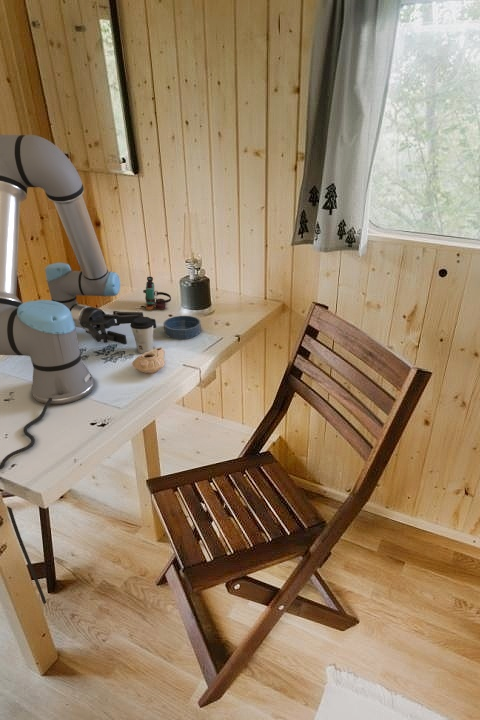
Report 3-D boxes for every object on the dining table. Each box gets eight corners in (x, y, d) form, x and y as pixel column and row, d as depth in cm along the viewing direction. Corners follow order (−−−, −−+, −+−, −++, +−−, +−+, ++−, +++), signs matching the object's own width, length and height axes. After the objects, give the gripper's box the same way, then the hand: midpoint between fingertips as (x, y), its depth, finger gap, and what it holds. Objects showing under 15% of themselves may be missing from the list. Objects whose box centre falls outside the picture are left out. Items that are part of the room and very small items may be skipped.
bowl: (187, 342, 150) (186, 332, 148) (157, 335, 155) (156, 325, 153) (208, 329, 159) (207, 320, 157) (179, 322, 164) (178, 313, 162)
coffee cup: (140, 357, 141) (136, 326, 136) (130, 349, 146) (125, 318, 140) (161, 351, 145) (157, 320, 140) (150, 343, 150) (146, 313, 144)
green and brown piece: (171, 284, 168) (142, 282, 166) (170, 312, 174) (143, 311, 172) (170, 276, 176) (143, 274, 174) (170, 303, 181) (143, 302, 179)
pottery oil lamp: (175, 358, 140) (177, 343, 134) (155, 387, 133) (156, 373, 128) (149, 345, 140) (149, 330, 134) (127, 374, 133) (127, 359, 128)
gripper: (117, 316, 162) (167, 328, 154) (60, 343, 143) (113, 359, 135) (114, 295, 158) (165, 306, 150) (55, 320, 139) (109, 335, 131)
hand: (140, 331), depth 143 cm, fingers open, 13 cm apart
